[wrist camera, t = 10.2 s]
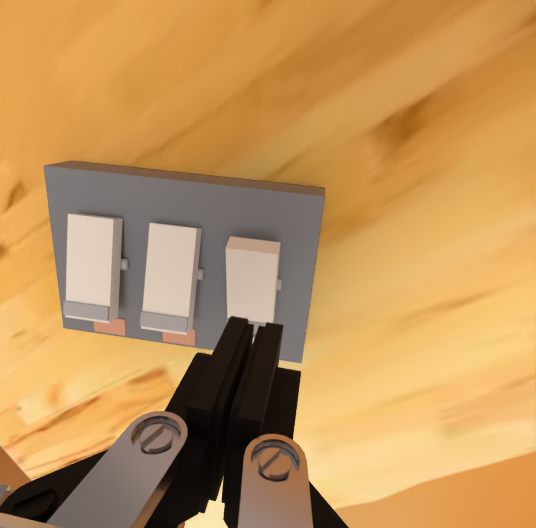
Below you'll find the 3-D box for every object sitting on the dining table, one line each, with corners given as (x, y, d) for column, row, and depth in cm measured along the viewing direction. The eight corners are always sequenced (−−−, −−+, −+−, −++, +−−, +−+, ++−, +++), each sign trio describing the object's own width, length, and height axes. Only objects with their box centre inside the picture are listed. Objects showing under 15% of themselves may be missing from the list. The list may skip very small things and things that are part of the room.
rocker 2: (157, 223, 34) (148, 222, 32) (201, 228, 33) (195, 228, 31) (148, 323, 35) (139, 329, 33) (192, 330, 34) (185, 336, 32)
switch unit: (71, 160, 37) (36, 166, 32) (324, 187, 35) (324, 198, 30) (85, 309, 43) (57, 332, 38) (303, 340, 41) (301, 368, 36)
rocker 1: (79, 213, 34) (65, 214, 32) (122, 218, 34) (111, 219, 32) (76, 312, 36) (63, 318, 34) (117, 318, 35) (107, 324, 33)
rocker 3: (230, 236, 31) (224, 250, 29) (280, 242, 30) (277, 256, 29) (231, 316, 36) (226, 331, 35) (274, 322, 36) (271, 338, 34)
